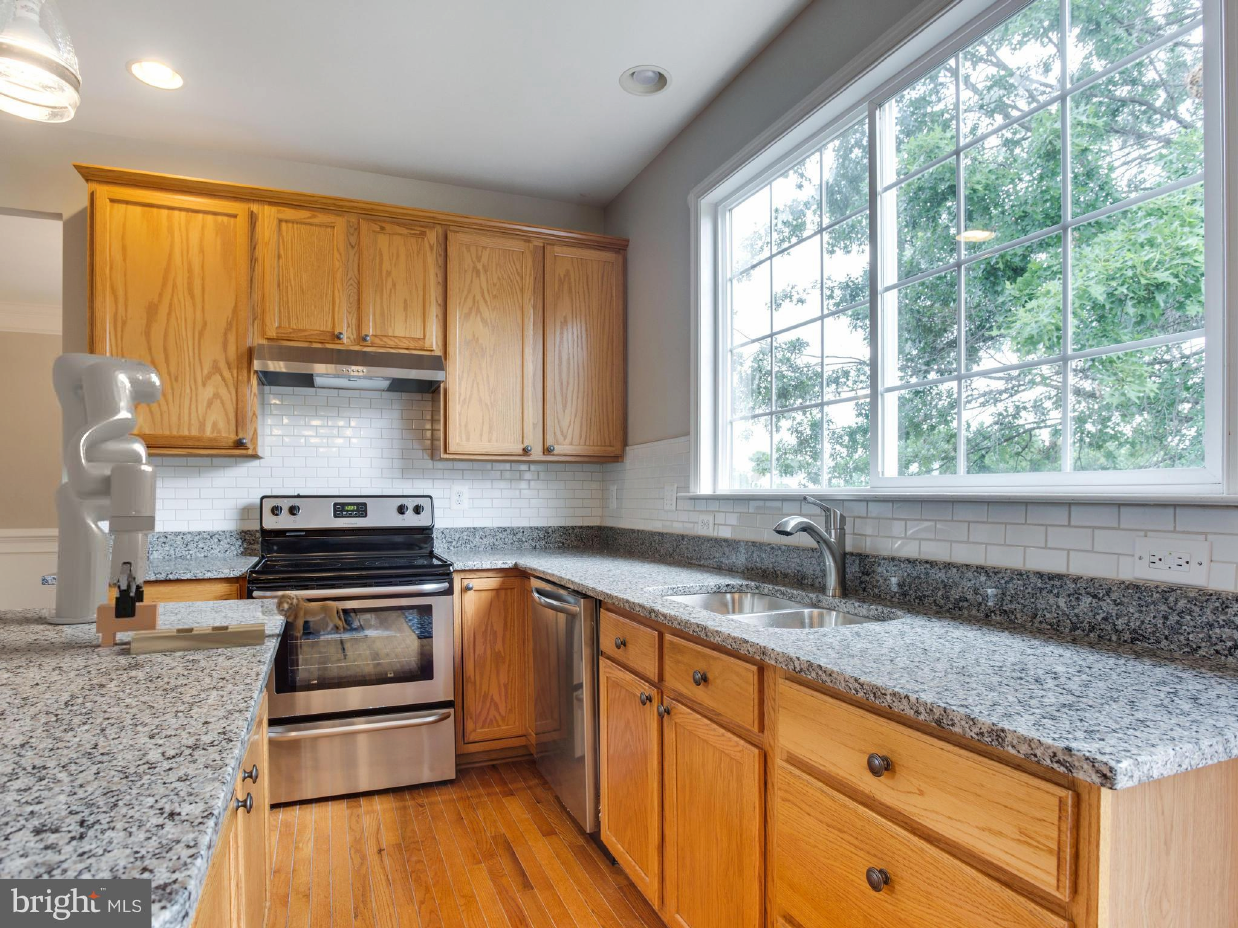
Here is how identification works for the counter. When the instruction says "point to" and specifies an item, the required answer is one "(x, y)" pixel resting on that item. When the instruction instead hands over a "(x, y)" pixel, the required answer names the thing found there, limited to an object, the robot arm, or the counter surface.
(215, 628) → the rail
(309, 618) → the lion figurine
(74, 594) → the robot arm
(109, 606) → the clip
